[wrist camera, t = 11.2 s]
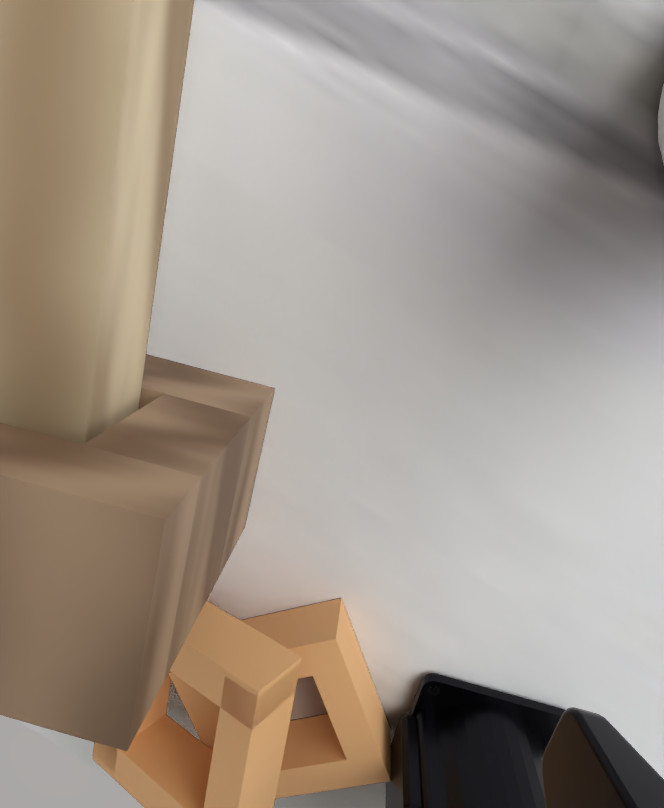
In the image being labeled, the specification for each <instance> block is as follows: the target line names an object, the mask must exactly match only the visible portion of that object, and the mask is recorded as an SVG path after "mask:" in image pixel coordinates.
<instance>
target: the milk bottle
mask: <svg viewBox="0 0 664 808" xmlns="http://www.w3.org/2000/svg"><path fill="white" fill-rule="evenodd" d="M658 143H659V147H660V151H661V154H662V159H663V164H664V85H663V89H662V94H661V99H660V105H659V112H658Z"/></svg>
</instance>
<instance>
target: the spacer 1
mask: <svg viewBox="0 0 664 808" xmlns="http://www.w3.org/2000/svg"><path fill="white" fill-rule="evenodd" d="M301 660H302V657H301V656H299V655H298V654H296V653H294V652H293V651H291V650H289V649H287V648H286V647H284V646H282V645H281V644H279V643H277V642H276V641H274V640H272V639H271V638H269V637H267V636H266V635H264V634H262V633H261V632H259V631H257V630H255V629H254V628H252V627H250V626H249V625H247V624H245V623H244V622H242V621H240V620H239V619H237V618H235V617H234V616H232V615H230V614H229V613H227V612H225V611H223V610H222V609H220V608H218V607H217V606H215V605H213V604H212V603H210V602H208V601H207V600H206V602H205V604H204V606H203V608H202V610H201V612H200V613H199V615H198V617H197V619H196V621H195V623H194V625H193V627H192V629H191V631H190V633H189V634H188V636H187V638H186V640H185V642H184V644H183V646H182V648H181V650H180V652H179V654H178V655H177V657H176V659H175V661H174V663H173V665H172V667H171V669H170V672H172V673H173V674H174V675H176V676H177V677H179V678H180V679H181V680H183V681H184V682H186V683H187V684H188V685H190V686H191V687H192V688H194V689H195V690H197V691H198V692H199V693H201V694H202V695H204V696H205V697H206V698H208V699H209V700H210V701H212V702H213V703H215V704H216V705H217V706H219V707H220V711H219V717H218V723H217V729H216V735H215V741H214V748H213V751H212V750H211V749H209V748H208V747H207V746H206V745H204V744H203V743H202V742H201V741H199V740H198V739H197V738H196V737H194V736H193V735H192V734H190V733H189V732H188V731H187V730H185V729H184V728H183V727H182V726H180V725H179V724H178V723H176V722H175V721H174V720H173V719H171V718H170V717H169V716H168V715H166V713H167V706H168V699H169V692H170V685H171V678H170V676H169V674H167V676H166V678H165V680H164V682H163V684H162V686H161V688H160V690H159V692H158V694H157V695H156V697H155V699H154V701H153V703H152V705H151V707H150V709H149V711H148V713H147V715H146V716H145V718H144V720H143V722H142V724H141V726H140V728H139V730H138V732H137V734H136V736H135V737H134V739H133V741H132V743H131V745H130V747H129V749H128V751H124V750H120V749H117V748H114V747H110V746H107V745H103V744H100V743H96V742H94V750H93V759H94V760H95V761H96V762H97V763H98V764H99V765H100V766H101V767H102V768H103V769H104V770H105V771H106V772H107V773H108V774H109V775H110V776H112V777H113V778H114V779H115V780H116V781H117V782H118V783H119V784H120V785H121V786H122V787H123V788H124V789H125V790H126V791H127V792H128V793H130V794H131V795H132V796H133V797H134V798H135V799H136V800H137V801H138V802H139V803H140V804H141V805H142V806H143V807H144V808H273V807H274V802H275V797H276V792H277V786H278V781H279V776H280V770H281V765H282V760H283V755H284V749H285V744H286V739H287V733H288V728H289V723H290V718H291V712H292V707H293V702H294V697H295V691H296V686H297V681H298V675H299V670H300V665H301Z"/></svg>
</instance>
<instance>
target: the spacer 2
mask: <svg viewBox="0 0 664 808" xmlns="http://www.w3.org/2000/svg"><path fill="white" fill-rule="evenodd" d="M240 621H242V622H244V623H245V624H247V625H249V626H250V627H252V628H254V629H255V630H257V631H259V632H261V633H262V634H264V635H266V636H267V637H269V638H271V639H272V640H274V641H276V642H277V643H279V644H281V645H282V646H284V647H286V648H287V649H289V650H291V651H293V652H294V653H296V654H298V655H299V656H301V657H302V660H301V665H300V670H299V675H298V679H299V678H305V677H310V676H313V678H314V680H315V683H316V685H317V688H318V690H319V693H320V695H321V698H322V700H323V703H324V705H325V707H326V710H327V712H328V714H325V715H319V716H314V717H308V718H303V719H297V720H292V721H290V723H289V728H288V733H287V739H286V744H285V749H284V755H283V760H282V765H281V770H280V776H279V781H278V786H277V792H276V797H275V799H276V798H282V797H289V796H295V795H302V794H309V793H315V792H322V791H329V790H335V789H342V788H349V787H355V786H362V785H368V784H375V783H382V782H388V781H391V729H390V726H389V724H388V721H387V718H386V716H385V713H384V710H383V708H382V705H381V702H380V700H379V697H378V694H377V692H376V689H375V686H374V684H373V681H372V678H371V676H370V673H369V670H368V667H367V665H366V662H365V659H364V657H363V654H362V651H361V649H360V646H359V643H358V641H357V638H356V635H355V633H354V630H353V627H352V625H351V622H350V619H349V617H348V614H347V611H346V609H345V606H344V603H343V601H342V598H339V599H334V600H330V601H325V602H321V603H316V604H312V605H307V606H303V607H298V608H294V609H289V610H285V611H280V612H276V613H271V614H267V615H262V616H258V617H253V618H249V619H244V620H240ZM168 674H169V676H170V678H171V680H172V682H173V684H174V686H175V688H176V690H177V692H178V694H179V696H180V699H181V701H182V703H183V705H184V707H185V709H186V711H187V713H188V715H189V717H190V719H191V721H192V723H193V725H194V727H195V729H196V732H197V734H198V736H199V738H200V740H201V742H202V743H203V744H204V745H206V746H207V747H208V748H209V749H211V750H212V751H213V748H214V741H215V735H216V729H217V723H218V717H219V711H220V707H219V706H217V705H216V704H215V703H213V702H212V701H210V700H209V699H208V698H206V697H205V696H204V695H202V694H201V693H199V692H198V691H197V690H195V689H194V688H192V687H191V686H190V685H188V684H187V683H186V682H184V681H183V680H181V679H180V678H179V677H177V676H176V675H174V674H173V673H172V672H170V671H169V673H168Z"/></svg>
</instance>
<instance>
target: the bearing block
mask: <svg viewBox="0 0 664 808" xmlns="http://www.w3.org/2000/svg"><path fill="white" fill-rule="evenodd" d="M274 390H275V388H272V387H268V386H264V385H260V384H256V383H253V382H249V381H245V380H241V379H237V378H234V377H230V376H226V375H222V374H219V373H215V372H211V371H207V370H203V369H200V368H196V367H192V366H188V365H184V364H181V363H177V362H173V361H169V360H166V359H162V358H158V357H154V356H150V355H147V354H146V357H145V364H144V371H143V379H142V386H141V393H140V400H139V408H138V410H137V411H136V412H134V413H133V414H131V415H130V416H128V417H126V418H125V419H123V420H122V421H120V422H119V423H117V424H115V425H114V426H112V427H111V428H109V429H107V430H106V431H104V432H103V433H101V434H100V435H98V436H96V437H95V438H93V439H92V440H90V441H89V442H87V443H85V444H84V445H82V444H78V443H75V442H71V441H67V440H64V439H60V438H56V437H52V436H49V435H45V434H41V433H38V432H34V431H30V430H27V429H23V428H19V427H16V426H12V425H8V424H4V423H1V422H0V715H3V716H6V717H10V718H13V719H17V720H20V721H24V722H27V723H31V724H34V725H37V726H41V727H44V728H48V729H51V730H55V731H58V732H62V733H65V734H69V735H72V736H76V737H79V738H82V739H86V740H89V741H93V742H96V743H100V744H103V745H107V746H110V747H114V748H117V749H120V750H124V751H128V749H129V747H130V745H131V743H132V741H133V739H134V737H135V736H136V734H137V732H138V730H139V728H140V726H141V724H142V722H143V720H144V718H145V716H146V715H147V713H148V711H149V709H150V707H151V705H152V703H153V701H154V699H155V697H156V695H157V694H158V692H159V690H160V688H161V686H162V684H163V682H164V680H165V678H166V676H167V674H168V673H169V671H170V669H171V667H172V665H173V663H174V661H175V659H176V657H177V655H178V654H179V652H180V650H181V648H182V646H183V644H184V642H185V640H186V638H187V636H188V634H189V633H190V631H191V629H192V627H193V625H194V623H195V621H196V619H197V617H198V615H199V613H200V612H201V610H202V608H203V606H204V604H205V602H206V600H207V598H208V596H209V594H210V592H211V591H212V589H213V587H214V585H215V583H216V581H217V579H218V577H219V575H220V573H221V571H222V570H223V568H224V566H225V564H226V562H227V560H228V558H229V556H230V554H231V552H232V550H233V549H234V547H235V545H236V543H237V541H238V539H239V537H240V535H241V533H242V531H243V530H244V528H245V524H246V519H247V515H248V510H249V505H250V501H251V496H252V492H253V487H254V482H255V478H256V473H257V469H258V464H259V459H260V455H261V450H262V446H263V441H264V436H265V432H266V427H267V423H268V418H269V413H270V409H271V404H272V400H273V395H274Z"/></svg>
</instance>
